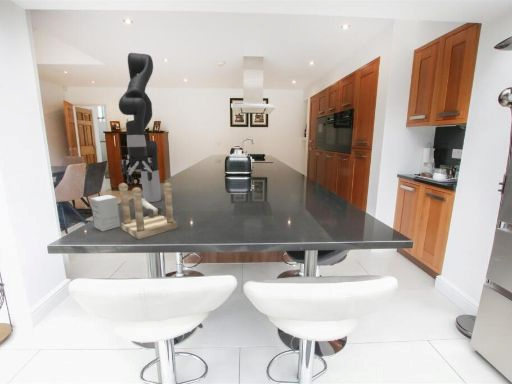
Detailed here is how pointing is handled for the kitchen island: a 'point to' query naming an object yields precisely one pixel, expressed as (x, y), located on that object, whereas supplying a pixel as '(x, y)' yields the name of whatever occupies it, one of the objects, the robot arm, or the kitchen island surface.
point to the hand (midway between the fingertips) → (140, 181)
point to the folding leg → (149, 206)
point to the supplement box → (105, 212)
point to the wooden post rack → (152, 222)
